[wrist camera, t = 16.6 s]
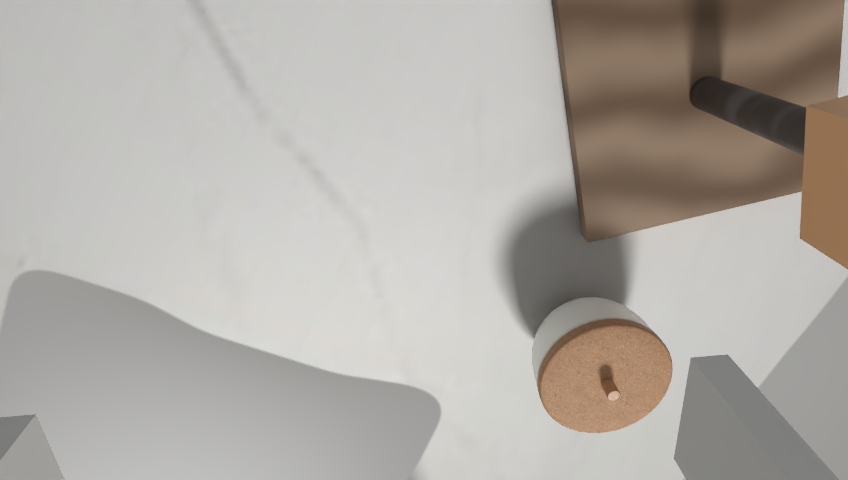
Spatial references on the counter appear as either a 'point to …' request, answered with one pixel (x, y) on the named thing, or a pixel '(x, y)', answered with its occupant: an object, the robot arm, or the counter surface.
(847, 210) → the sleeve
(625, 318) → the lidded jar
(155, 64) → the counter surface
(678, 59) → the stand
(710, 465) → the robot arm
